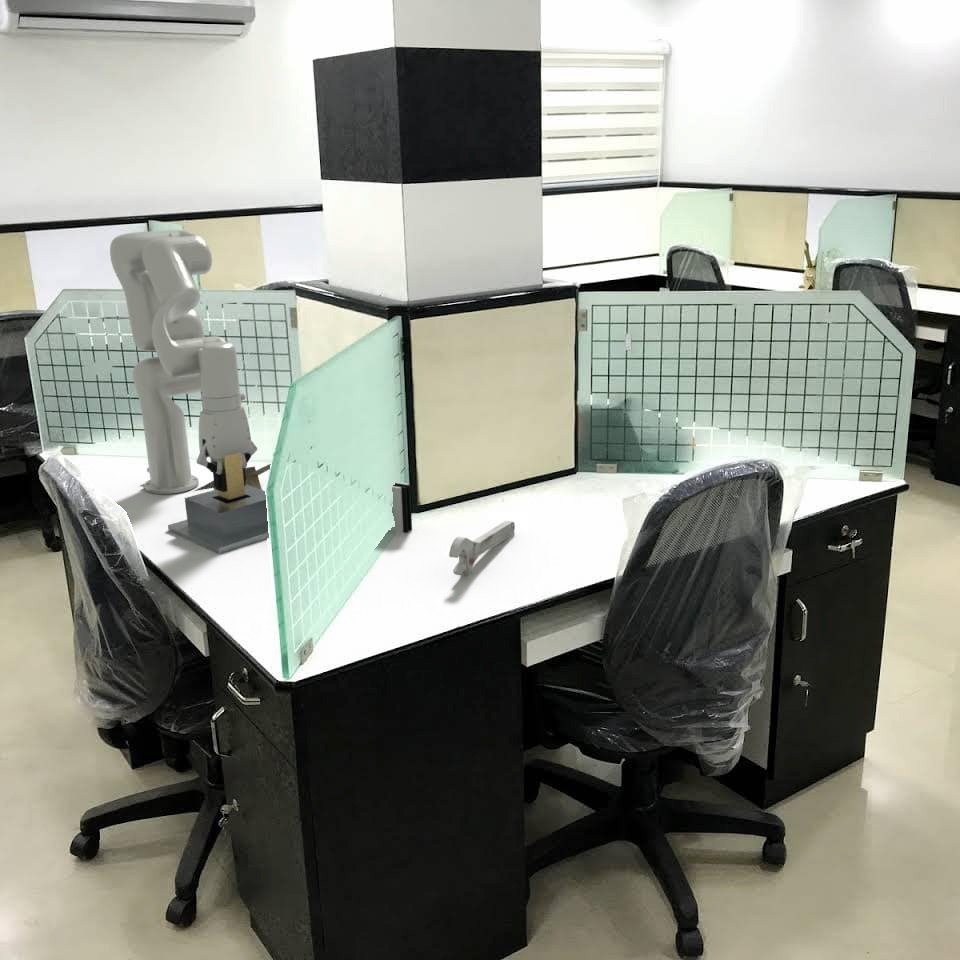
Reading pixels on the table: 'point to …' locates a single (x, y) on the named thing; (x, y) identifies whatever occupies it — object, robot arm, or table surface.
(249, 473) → the beige piece
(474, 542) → the wrench
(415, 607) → the table surface
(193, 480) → the robot arm
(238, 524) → the collar block
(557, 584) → the table surface
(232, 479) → the brass pin
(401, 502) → the hinge
